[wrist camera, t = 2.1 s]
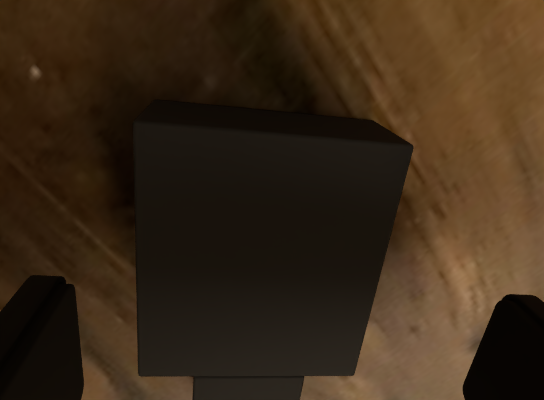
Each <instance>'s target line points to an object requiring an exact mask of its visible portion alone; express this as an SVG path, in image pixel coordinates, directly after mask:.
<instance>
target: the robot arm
mask: <svg viewBox="0 0 544 400" xmlns="http://www.w3.org/2000/svg"><path fill="white" fill-rule="evenodd" d="M83 387H84V378H83V368H82V357H81V347H80V336H79V325H78V315H77V304H76V293H75V287H74V285H73V284H66V280H65V278H64V277H62V276H42V275H32V276H30V277H29V278H28V279H27V280H26V281H25V282H24V283H23V285H22V286H21V287H20V288H19V289H18V291H17V292H16V293H15V294H14V296H13V297H12V298H11V299H10V301H9V302H8V303H7V304H6V305H5V307H4V308H3V309H2V310H1V312H0V400H81V397H82V394H83ZM463 395H464V398H465V400H544V302H543V301H542V300H540V299H539V298H538V297H536V296H533V295H516V294H509V295H506V296H505V297H503V299H502V300H501V301H499V302H498V303H497V304H496V306H495V308H494V311H493V313H492V316H491V318H490V321H489V323H488V325H487V328H486V330H485V333H484V335H483V338H482V340H481V342H480V345H479V347H478V350H477V352H476V355H475V357H474V359H473V362H472V364H471V367H470V369H469V372H468V374H467V376H466V379H465V381H464V384H463Z"/></svg>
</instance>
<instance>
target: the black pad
mask: <svg viewBox="0 0 544 400" xmlns="http://www.w3.org/2000/svg"><path fill="white" fill-rule="evenodd" d="M133 150H134V197H135V245H136V292H137V340H138V374H139V376H194V382H193V400H300V396H301V391H302V386H303V381H304V376H353V375H354V373H355V369H356V366H357V362H358V358H359V354H360V350H361V346H362V343H363V339H364V335H365V331H366V327H367V324H368V320H369V316H370V312H371V308H372V304H373V301H374V297H375V293H376V289H377V285H378V282H379V278H380V274H381V270H382V266H383V262H384V259H385V255H386V251H387V247H388V243H389V240H390V236H391V232H392V228H393V224H394V220H395V217H396V213H397V209H398V205H399V201H400V198H401V194H402V190H403V186H404V182H405V178H406V175H407V171H408V167H409V163H410V159H411V156H412V152H413V145H412V144H410V143H409V142H407V141H405V140H404V139H402V138H401V137H399V136H397V135H396V134H394V133H392V132H391V131H389V130H388V129H386V128H384V127H383V126H381V125H380V124H378V123H376V122H375V121H372V120H361V119H351V118H341V117H330V116H320V115H310V114H299V113H289V112H278V111H268V110H258V109H247V108H237V107H227V106H216V105H206V104H196V103H185V102H175V101H165V100H154V101H153V102H152V103H151V104H150V105H149V106H148V107H147V108H146V109H145V110H144V111H143V112H142V113H141V114H140V115H139V116H138V117H137V118H136V119H135V120H134V122H133Z"/></svg>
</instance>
